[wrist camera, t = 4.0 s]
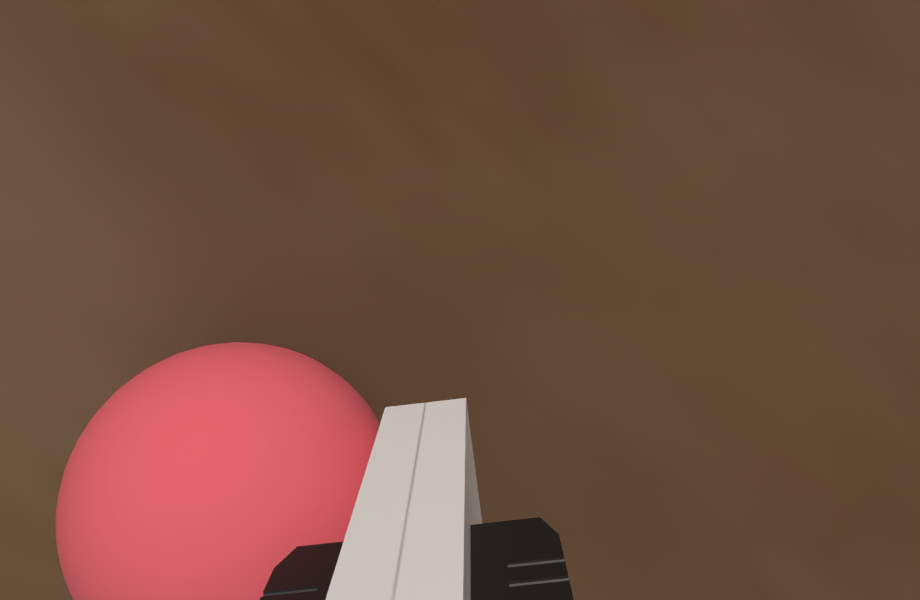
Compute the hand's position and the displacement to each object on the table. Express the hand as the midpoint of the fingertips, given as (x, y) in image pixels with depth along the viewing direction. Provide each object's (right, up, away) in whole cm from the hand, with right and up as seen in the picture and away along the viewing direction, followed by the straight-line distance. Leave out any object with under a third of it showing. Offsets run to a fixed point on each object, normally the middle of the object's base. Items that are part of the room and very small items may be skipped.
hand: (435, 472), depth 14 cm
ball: (-4, -1, 0) cm, 4 cm away
